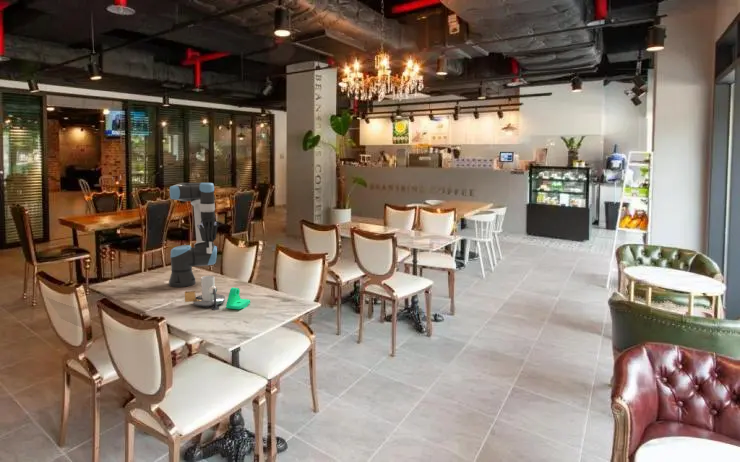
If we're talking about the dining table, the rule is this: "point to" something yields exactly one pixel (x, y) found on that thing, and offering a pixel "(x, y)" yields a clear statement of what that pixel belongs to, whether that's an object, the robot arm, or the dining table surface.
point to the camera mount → (236, 300)
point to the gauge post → (212, 291)
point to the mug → (207, 287)
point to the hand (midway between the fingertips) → (209, 253)
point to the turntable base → (207, 306)
